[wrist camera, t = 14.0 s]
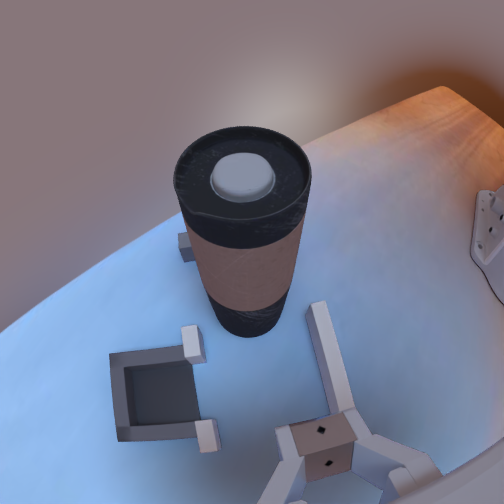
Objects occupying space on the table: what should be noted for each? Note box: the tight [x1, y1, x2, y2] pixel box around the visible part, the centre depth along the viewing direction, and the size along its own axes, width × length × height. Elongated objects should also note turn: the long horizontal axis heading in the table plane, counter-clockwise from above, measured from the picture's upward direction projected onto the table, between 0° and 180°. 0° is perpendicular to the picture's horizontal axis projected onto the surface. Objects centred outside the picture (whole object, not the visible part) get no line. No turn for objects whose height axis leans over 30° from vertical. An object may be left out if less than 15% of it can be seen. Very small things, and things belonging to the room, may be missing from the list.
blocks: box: [181, 301, 355, 453], centre depth 28 cm, size 12×14×4 cm
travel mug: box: [173, 126, 312, 338], centre depth 25 cm, size 8×8×20 cm
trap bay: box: [109, 345, 201, 442], centre depth 27 cm, size 9×8×2 cm
